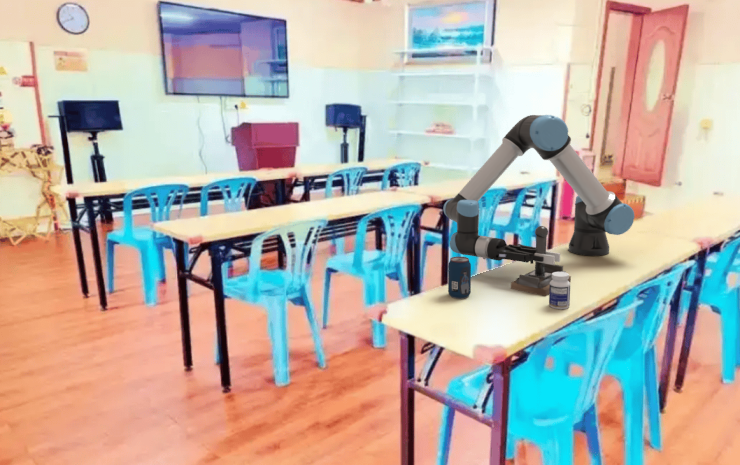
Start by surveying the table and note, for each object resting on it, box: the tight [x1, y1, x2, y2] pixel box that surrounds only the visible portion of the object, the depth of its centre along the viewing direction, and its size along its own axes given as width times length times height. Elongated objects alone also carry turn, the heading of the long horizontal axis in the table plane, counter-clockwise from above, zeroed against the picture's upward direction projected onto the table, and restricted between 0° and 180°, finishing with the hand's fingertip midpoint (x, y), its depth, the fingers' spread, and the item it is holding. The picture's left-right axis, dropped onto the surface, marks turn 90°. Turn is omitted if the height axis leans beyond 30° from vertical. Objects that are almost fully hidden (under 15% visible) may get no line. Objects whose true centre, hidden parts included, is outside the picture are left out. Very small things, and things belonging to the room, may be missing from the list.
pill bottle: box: [548, 272, 571, 310], centre depth 162 cm, size 6×6×10 cm
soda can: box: [447, 256, 472, 300], centre depth 173 cm, size 7×7×12 cm
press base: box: [510, 264, 572, 297], centre depth 182 cm, size 18×13×5 cm
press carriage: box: [528, 225, 552, 282], centre depth 179 cm, size 5×6×18 cm
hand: (556, 259), depth 176 cm, fingers closed on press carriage, 3 cm apart
